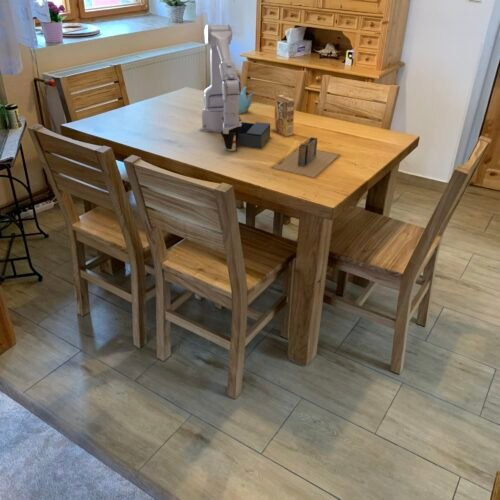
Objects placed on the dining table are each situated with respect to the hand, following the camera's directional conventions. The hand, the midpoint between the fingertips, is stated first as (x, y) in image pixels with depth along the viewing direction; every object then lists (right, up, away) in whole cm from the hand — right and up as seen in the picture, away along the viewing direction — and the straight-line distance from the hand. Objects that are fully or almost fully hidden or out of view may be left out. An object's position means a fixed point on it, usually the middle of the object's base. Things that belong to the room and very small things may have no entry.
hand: (231, 146), depth 199 cm
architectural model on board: (+29, -8, -8) cm, 31 cm away
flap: (0, +13, +7) cm, 14 cm away
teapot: (+1, +27, +47) cm, 54 cm away
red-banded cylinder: (0, -1, +1) cm, 2 cm away
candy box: (+22, +10, +20) cm, 31 cm away
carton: (+8, +4, +10) cm, 13 cm away
